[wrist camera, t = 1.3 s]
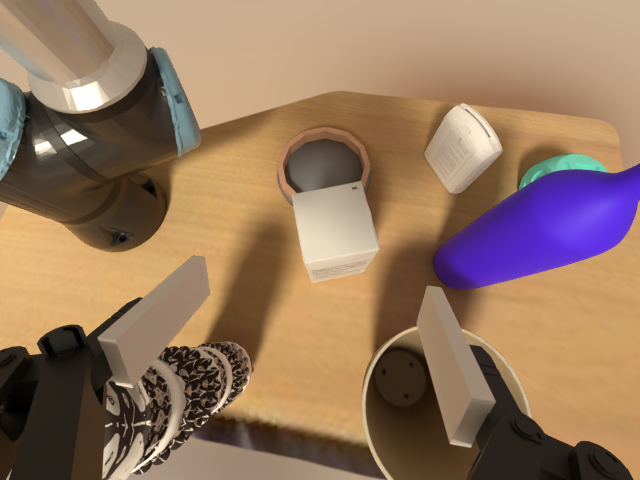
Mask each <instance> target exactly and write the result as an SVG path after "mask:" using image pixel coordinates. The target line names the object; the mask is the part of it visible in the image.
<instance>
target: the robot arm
mask: <svg viewBox="0 0 640 480" xmlns="http://www.w3.org/2000/svg"><path fill="white" fill-rule="evenodd" d="M0 48H1V49H2V50H4V51H5V52H6V53H7V54H8V55H10V56H11V57H12V58H13V59H14V60H16V61H17V62H18V63H19V64H20V65H22V66H23V67H24V68H25V69H26V70H27V71H28V82H29V86H30V89H31V91H29V92H22V90H21V89H19V87H18V86H17V85H15V84H14V83H10V82H8V81H6V80H4V79H2V78H0V201H2V202H5V203H8V204H11V205H13V206H16V207H19V208H21V209H24V210H27V211H30V212H32V213H35V214H38V215H41V216H43V217H46V218H49V219H52V220H54V221H57V222H59V223H62V224H63V225H64V226H65V227H66V228H67V229H69V230H70V231H71V232H72V233H73V234H74V235H75V236H77V237H78V238H79V239H80V240H81V241H83V242H84V243H85V244H87V245H89V246H91V247H94V248H97V249H100V250H103V251H107V252H122V251H126V250H130V249H132V248H135V247H137V246H139V245H141V244H142V243H144V242H145V241H146V240H148V239H149V238H150V237H151V236H152V235H153V234H154V233H155V232H156V231H157V229H158V228H159V226H160V225H161V223H162V221H163V218H164V215H165V212H166V198H165V194H164V192H163V190H162V188H161V187H160V186H159V184H157V183H156V182H155V181H154V180H153V179H152V178H150V177H149V176H148V175H146V174H144V173H142V172H140V171H143V170H145V169H148V168H151V167H153V166H156V165H159V164H161V163H164V162H167V161H170V160H172V159H175V158H179V157H181V156H182V155H183V154H185V153H187V152H189V151H191V150H193V149H196V148H197V147H198V146H199V145H200V144H201V140H202V135H201V132H200V129H199V126H198V124H197V121H196V119H195V116H194V114H193V111H192V109H191V107H190V104H189V102H188V99H187V97H186V94H185V92H184V90H183V87H182V85H181V83H180V80H179V78H178V76H177V73H176V71H175V69H174V67H173V65H172V62H171V60H170V58H169V56H168V55H167V52H166V51H165V50H164V49H163V48H155V47H152V48H150V49H149V50H148V49H147V48H146V46H145V45H144V43H143V42H142V40H141V39H140V38H139V36H138V35H137V34H136V33H135V32H134V31H133V30H131V29H130V28H128V27H126V26H124V25H122V24H119V23H116V22H113V21H109V20H108V19H107V17H106V16H105V14H104V13H103V12H102V10H101V9H100V8H99V6H98V5H97V3H96V2H95V1H94V0H0ZM209 295H210V290H209V283H208V275H207V268H206V261H205V257H201V256H192V257H191V258H190V259H188V260H187V261H186V262H185V263H184V264H183V265H181V266H180V267H179V268H178V269H177V270H176V271H174V272H173V273H172V274H171V275H170V276H169V277H167V278H166V279H165V280H164V281H163V282H162V283H160V284H159V285H158V286H157V287H156V288H155V289H153V290H152V291H151V292H150V293H149V294H148V295H146V296H145V297H144V298H140V297H139V298H137V299H135V300H133V301H131V302H129V303H127V304H126V305H124V306H123V307H122V308H121V309H120V310H118V312H116V313H115V314H113V315H112V316H111V318H109V319H107V320H106V321H105V322H104V323H103V324H101V325H100V326H99V327H98V328H96V329H95V330H94V331H93V332H92V333H90V334H89V335H88V336H87V337H86V335H85V333H84V330H83V328H82V327H81V326H79V325H66V326H62V327H59V328H56V329H54V330H52V331H50V332H48V333H46V334H45V335H44V336H43V337H41V338H40V339H39V341H38V342H37V345H38V347H39V349H40V351H41V353H42V354H36V355H30V354H29V353H28V351H27V349H26V348H25V347H22V346H16V347H10V348H6V349H3V350H0V480H6V478H7V477H8V475H9V473H10V471H11V469H12V471H11V475H10V478H9V480H102V473H103V455H104V438H105V421H106V404H107V385H106V382H107V381H108V380H109V379H110V378H111V377H112V376H113V378H114V381H115V383H116V385H119V386H125V387H130V388H133V387H134V386H135V385H136V383H137V382H138V381H139V380H140V379H141V377H142V376H143V375H144V374H145V372H146V371H147V370H148V369H149V368H150V366H151V365H152V364H153V363H154V362H155V360H156V359H157V358H158V357H159V355H160V354H161V353H162V352H163V351H164V349H165V348H166V347H167V346H168V345H169V343H170V342H171V341H172V340H173V338H174V337H175V336H176V335H177V334H178V332H179V331H180V330H181V329H182V328H183V326H184V325H185V324H186V323H187V321H188V320H189V319H190V318H191V317H192V315H193V314H194V313H195V312H196V310H197V309H198V308H199V307H200V306H201V304H202V303H203V302H204V301H205V300H206V298H207V297H208V296H209ZM416 324H417V327H418V331H419V334H420V338H421V342H422V345H423V349H424V352H425V356H426V360H427V363H428V367H429V371H430V374H431V378H432V381H433V385H434V389H435V392H436V396H437V399H438V403H439V407H440V410H441V414H442V418H443V421H444V425H445V428H446V432H447V436H448V439H449V443H450V444H452V445H458V446H464V447H469V448H471V446H472V444H473V442H474V441H475V439H476V441H477V444H478V447H479V449H480V452H479V453H478V455H477V457H476V458H475V460H474V462H473V464H472V465H471V466H472V467H471V469H470V471H469V473H468V476H467V478H466V480H633V478H632V476H631V474H630V472H629V470H628V469H627V468H626V467H625V466H624V465H623V463H622V462H621V461H620V460H619V459H618V458H616V457H615V456H614V455H613V454H612V453H611V452H609V451H608V450H606V449H604V448H603V447H601V446H600V445H597V444H595V443H592V442H589V441H581V442H579V443H578V444H577V445H576V446H575V447H573V446H571V445H568V444H566V443H564V442H562V441H559V440H557V439H555V438H553V437H550V436H548V435H547V434H545V433H544V432H543V430H542V429H541V428H540V427H539V425H538V424H537V423H536V422H535V421H534V420H532V419H531V418H530V417H529V416H527V415H525V414H523V413H522V412H521V411H520V409H519V407H518V405H517V403H516V401H515V400H514V398H513V396H512V394H511V392H510V390H509V389H508V387H507V385H506V383H505V381H504V379H503V378H502V377H501V374H500V372H499V370H498V369H497V368H496V365H495V363H494V361H493V359H492V357H491V356H490V355H489V354H488V353H487V352H486V351H485V350H484V349H483V348H482V347H481V346H476V345H469V344H468V342H467V340H466V338H465V336H464V334H463V332H462V330H461V327H460V325H459V323H458V321H457V319H456V317H455V315H454V313H453V311H452V309H451V306H450V304H449V302H448V300H447V298H446V296H445V294H444V292H443V290H442V288H441V287H436V286H428V285H427V288H426V292H425V295H424V298H423V302H422V305H421V309H420V312H419V315H418V319H417V322H416Z"/></svg>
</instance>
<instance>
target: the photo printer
mask: <svg viewBox="0 0 640 480" xmlns="http://www.w3.org/2000/svg"><path fill="white" fill-rule="evenodd" d="M502 151H503V150H502V146H501V143H500V141H499V139H498V137H497V135H496V133H495V132H494V130H493V129H492V127H491V126H490V124H489V123H488V122H487V121H486V120H485V118H484V117H483V116H482V115H481V114H480V113H479V112H477V111H476V110H475V109H474V108H472V107H471V106H469V105H467V104H464V103H462V104H460V105H458V106H455V107H454V108H453V109H451V110H450V111H449V112H448V113H447V115H446V116H445V117H444V119H443V121H442V123H441V124H440V126H439V128H438V130H437V131H436V133H435V135H434V137H433V138H432V140H431V142H430V143H429V145H428V147H427V149H426V150H425V152H424V156H425V158H426V160H427V162H428V163H429V165H430V166H431V168H432V169H433V171H434V172H435V174H436V175H437V177H438V178H439V179H440V181H441V182H442V184H443V185H444V186H445V188H446V189H447V190H448V191H449V192H450V193H453V194H458V193H461V192H463V191H464V190H465V189H466V188H467V187H468V186H469V185H470V184H471V183H472V182H473V181H474V180H475V179H476V178H478V177H479V176H480V175H481V174H482V173H483V172H484V171H485V170H486V169H487V168H488V167H489V166H490V165H491V164H492V163H493V162H494V161H495V160H496V158H497V157H498V156H500V155H501V153H502Z"/></svg>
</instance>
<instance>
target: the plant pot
mask: <svg viewBox="0 0 640 480" xmlns="http://www.w3.org/2000/svg"><path fill="white" fill-rule="evenodd" d="M461 330H462V332H463V334H464V336H465V338H466V340H467V342H468V344H469V345H476V346H481V347H482V348H483V349H484V350H485V351H486V352H487V353H488V354H489V355H490V356H491V357H492V359H493V361H494V363H495V365H496V368H497V369H498V370H499V372H500V374H501V377H502V378H503V379H504V381H505V383H506V385H507V387H508V389H509V390H510V392H511V394H512V396H513V398H514V400H515V401H516V403H517V405H518V407H519V409H520V411H521V412H522V413H523V414H525V415H527V416H529V417H530V418H531V419H532V416H531V410H530V406H529V403H528V399H527V396H526V394H525V391H524V389H523V386H522V384H521V382H520V380H519V379H518V377H517V375H516V374H515V372H514V370H513V369H512V368H511V366H510V365H509V363H508V362H507V361H506V360H505V358H504V357H503V356H502V355H501V354H500V353H499V352H498V351H497V350H496V349H495V348H494V347H493V346H492V345H490V344H489V343H488V342H487V341H485V340H484V339H482V338H481V337H479V336H477V335H476V334H474V333H472V332H470V331H467V330H465V329H463V328H461ZM410 363H413V364H412V366H410ZM382 371H384V372H385V374H382ZM405 394H407V395H408V398H405ZM362 420H363V427H364V432H365V435H366V439H367V442H368V445H369V448H370V450H371V452H372V454H373V457H374V459H375V461H376V462H377V464H378V466H379V468H380V469H381V471H382V472H383V474H384V475H385V476H386V478H387V479H388V480H466V478H467V476H468V473H469V471H470V469H471V467H472V466H471V465H472V464H473V462H474V460H475V458H476V457H477V455H478V453H479V452H480V449H479V447H478V444H477V441H476V439H475V441H474V442H473V444H472V446H471V448H469V447H464V446H458V445H452V444H450V443H449V439H448V436H447V432H446V428H445V425H444V421H443V418H442V414H441V410H440V407H439V403H438V399H437V396H436V392H435V389H434V385H433V381H432V378H431V374H430V371H429V367H428V363H427V360H426V356H425V352H424V349H423V345H422V342H421V338H420V334H419V331H418V327H417V326H415V327H412V328H409V329H407V330H405V331H402V332H400V333H398V334H397V335H395V336H393V337H392V338H390V339H388V340H387V341H386V342H385V343H383V344H382V345H381V346H380V347H379V348H378V350H377V351H376V352H375V353H374V355H373V356H372V358H371V360H370V362H369V364H368V366H367V369H366V372H365V376H364V381H363V387H362Z"/></svg>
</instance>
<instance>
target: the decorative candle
mask: <svg viewBox="0 0 640 480" xmlns="http://www.w3.org/2000/svg"><path fill="white" fill-rule="evenodd" d="M251 371H252V369H251V362H250V358H249V356H248V354H247V352H246V351H245V349H244V348H242V347H241V346H240V345H238V344H237V343H234V342H228V341H223V342H212V343H207V344H201V345H199V346H198V347H187V346H182V347H180V348H178V347H174V346H173V347H170V348H168V347H166V348H165V349H164V351H163V352H162V353H161V354H160V355H159V357H158V358H157V359H156V360H155V362H154V363H153V364H152V365H151V366H150V368H149V369H148V370H147V371H146V372H145V374H144V375H143V376H142V377H141V379H140V380H139V381H138V382H137V383H136V385H135V386H134V387H133V388H130V387H125V386H119V385H116V383H115V381H114V378H113V376H112V377H111V378H110V379H109V380H108V381H107V382H106V385H107V404H106V421H105V438H104V455H103V473H102V480H126V479H127V477H128V476H129V475H130V473H132V472H133V473H134V474H143V473H145V472H147V470H149V469H150V467H151V465H152V463H153V464H154V465H160V464H162V463H163V462H165V460H167V458H168V457H169V455H170V450H176V449H177V448H179V447H180V446H181V445H182V444H183V443H185V442H186V441H187V440H188V438H189V436H190V435H191V434H192V433H194V432H196V431H198V430H199V428H200V427H201V425H202V424H203V423H204V422H206V421H207V420H208V419H209V418H210V416H211V414H218V413H219V412H220V411H221V410H223V409H224V408H225V407H226V406H228V405H230V403H232V402H233V401H234V400H235V399H236V398H237V397H238V396H240V395H241V394H242V393H243V391H244V390H245V388H246V387H247V385H248V383H249V381H250V376H251ZM171 440H172V441H171ZM152 458H153V459H154V460H152V461H151V459H152ZM149 460H150V461H149Z"/></svg>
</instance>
